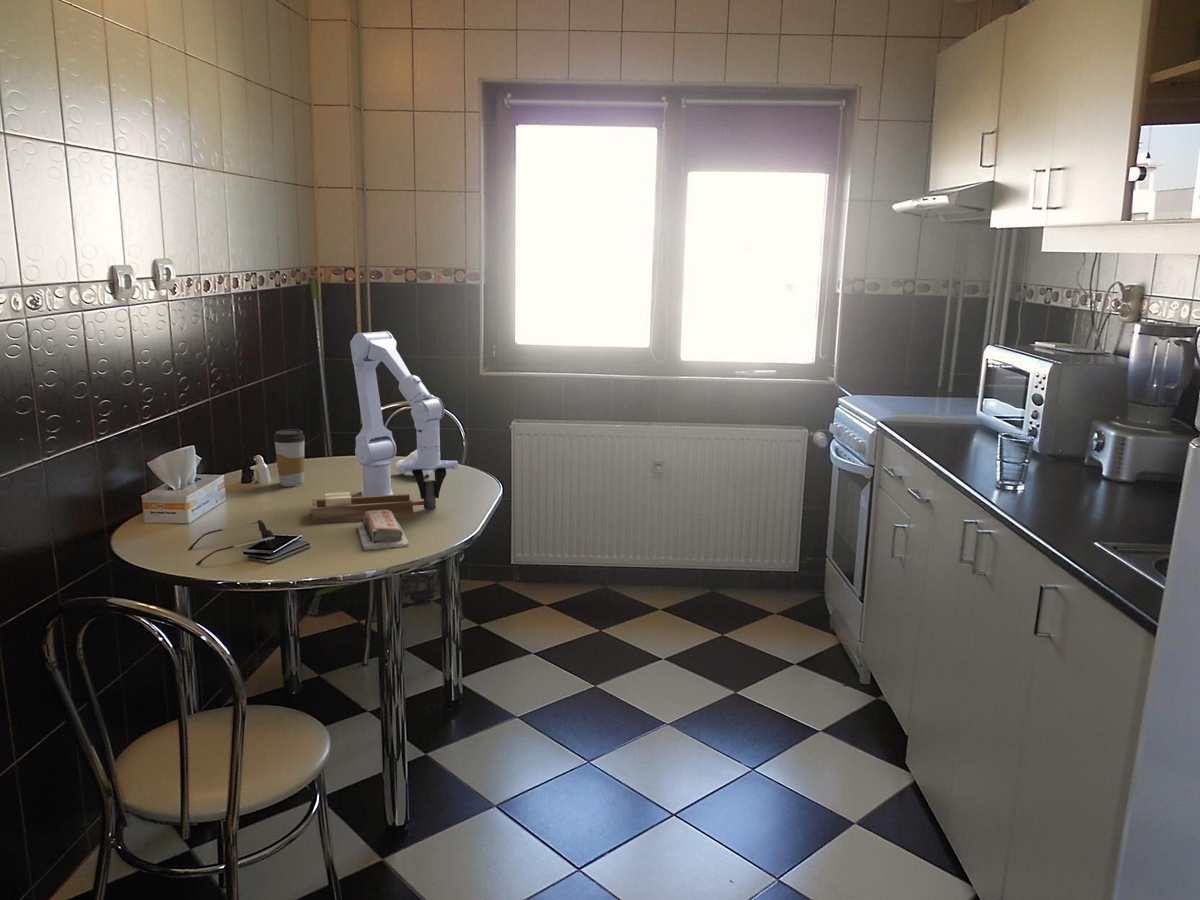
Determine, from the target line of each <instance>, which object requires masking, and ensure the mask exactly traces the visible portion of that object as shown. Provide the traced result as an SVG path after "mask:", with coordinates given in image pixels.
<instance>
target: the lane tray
mask: <svg viewBox="0 0 1200 900" xmlns="http://www.w3.org/2000/svg"><path fill="white" fill-rule="evenodd" d="M410 498H411V497H410V493H399V494H398V493H397V494H393V495H380V496H364V497H362V496H351V505H341V506H326V502H325V498H322V499H318V498H317V499H311V508H312V524H313V523H316V524H327V523H328V522H330V523H341V521H343V522H354V521H364V514H365V512H366V511H373V510H384V509H385V510H389V511H391V512H392V513H393V514H394V517H395V519H399V518H411V517H412V518H413V517H414V506H413V502H414V501H413V500H410Z"/></svg>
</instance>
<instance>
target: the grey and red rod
mask: <svg viewBox="0 0 1200 900" xmlns="http://www.w3.org/2000/svg"><path fill="white" fill-rule="evenodd" d="M324 497H325V498H324V499H325V502H326V506H341V505H351V497H352V495H351V492H349V491H348V492H347V491H345V492H333V493H332V492H331V493H329V492H328V493H325V494H324ZM436 499H437V498H436V496H435V479H427V480H424V499H423V500H420V501H419V500H418V501H417V500H416V501H413V507H414V506H423V509H424V510H434V509H436V508H437V506H436V505H437V504H436Z"/></svg>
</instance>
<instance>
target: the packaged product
mask: <svg viewBox="0 0 1200 900" xmlns="http://www.w3.org/2000/svg"><path fill="white" fill-rule="evenodd" d="M356 527H357V528H356V529H357V530H358V535H359V539H360V542H361V545H362V547H363V549H365V550H364V551H367V550H366V549H374V550H380V549H379V548H386V549H392V548H391V547H395V548H403V547H402V546H407V547H409V545H410V543H409V541H408V538H407V536H406V534H405V532H404V530H403V528H402V527H401V525H400V522H399V520H397V518H395V517H394V514H393V513H392V512H391V511H389V510H385V509H384V510H373V511H366V512H365V514H364V520H363V522H359V521H358V522H357V523H356Z"/></svg>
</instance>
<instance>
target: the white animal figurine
mask: <svg viewBox="0 0 1200 900" xmlns="http://www.w3.org/2000/svg"><path fill="white" fill-rule="evenodd" d="M416 461H417V449H415V450H414V451H412V452H411V453H410V454H409V455H407V456H406V457H405V458H404V459H400V460H398V461H396V462H395V464H394V465H395V466H394V467H395V470H396V471H397V473H398V474H399V476H402V475H401V474H405V475H406V474H407V472H400V466H399V464H400V463H409V462H416ZM432 471H433V470H425V471H422V472H423V475H424V478H425V477H427V476H426V475H429V476H430V475H431V473H432ZM408 472H409V473H412V471H408Z"/></svg>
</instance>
